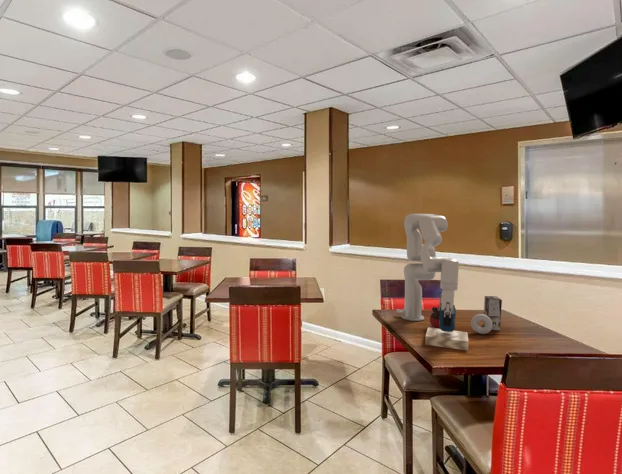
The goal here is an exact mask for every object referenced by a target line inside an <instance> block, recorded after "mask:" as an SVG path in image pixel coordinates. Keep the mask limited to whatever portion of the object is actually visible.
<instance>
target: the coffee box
mask: <svg viewBox="0 0 622 474" xmlns="http://www.w3.org/2000/svg"><path fill="white" fill-rule="evenodd" d="M502 300H503V299H501V298H499V297H498V296H494V295H491V296H490V295H484V303H483V315H486V316H488V317H489V318H490V319H491V321H492V324H493V326H492V329H491V331H492V330H493V331H501V323H502V321H501V320H502V303H503V301H502ZM484 326H485V322H484V321H483V327H484Z"/></svg>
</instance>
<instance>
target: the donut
mask: <svg viewBox="0 0 622 474" xmlns="http://www.w3.org/2000/svg"><path fill="white" fill-rule="evenodd" d="M479 322H483V323H484V322H485V326H484V325H483V326H480V325H479ZM470 326H471V328H472V330H473V331H474V332H476V333H477V334H480V335H485V334H488V333H490V331H492V330H491V329H492V326H493V324H492V321H491V319H490V318H489V317H488V316H486V315H484V313H483V314H482V313H479V314H475V315H474V316H473V317H472V319H471V321H470Z"/></svg>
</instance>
